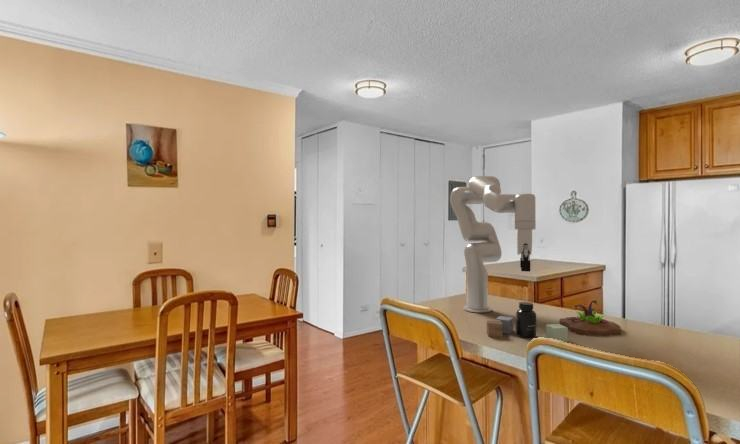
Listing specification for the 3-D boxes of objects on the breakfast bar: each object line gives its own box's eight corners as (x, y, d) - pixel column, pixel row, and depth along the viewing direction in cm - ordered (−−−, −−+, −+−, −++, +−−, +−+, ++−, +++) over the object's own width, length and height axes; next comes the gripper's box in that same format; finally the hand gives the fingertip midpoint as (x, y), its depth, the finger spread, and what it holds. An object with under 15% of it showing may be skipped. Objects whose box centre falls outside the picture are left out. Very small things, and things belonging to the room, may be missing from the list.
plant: (633, 337, 141) (633, 306, 141) (578, 337, 141) (578, 306, 141) (601, 322, 161) (601, 295, 161) (553, 322, 161) (553, 295, 161)
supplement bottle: (533, 339, 138) (533, 306, 138) (513, 336, 142) (513, 303, 142) (538, 335, 144) (538, 302, 144) (519, 331, 148) (519, 300, 148)
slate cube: (500, 328, 153) (499, 316, 153) (513, 330, 150) (513, 317, 150) (496, 331, 149) (496, 318, 149) (509, 333, 146) (509, 320, 146)
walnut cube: (486, 332, 148) (486, 319, 148) (500, 333, 147) (500, 320, 147) (488, 336, 143) (488, 323, 143) (502, 337, 142) (502, 323, 142)
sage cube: (546, 338, 140) (546, 324, 140) (559, 337, 140) (559, 323, 140) (554, 342, 135) (553, 328, 135) (567, 342, 135) (567, 327, 135)
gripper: (514, 225, 161) (514, 266, 161) (515, 226, 145) (515, 272, 145) (534, 224, 158) (534, 266, 159) (537, 226, 142) (537, 273, 142)
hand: (525, 269), depth 152 cm, fingers open, 9 cm apart
